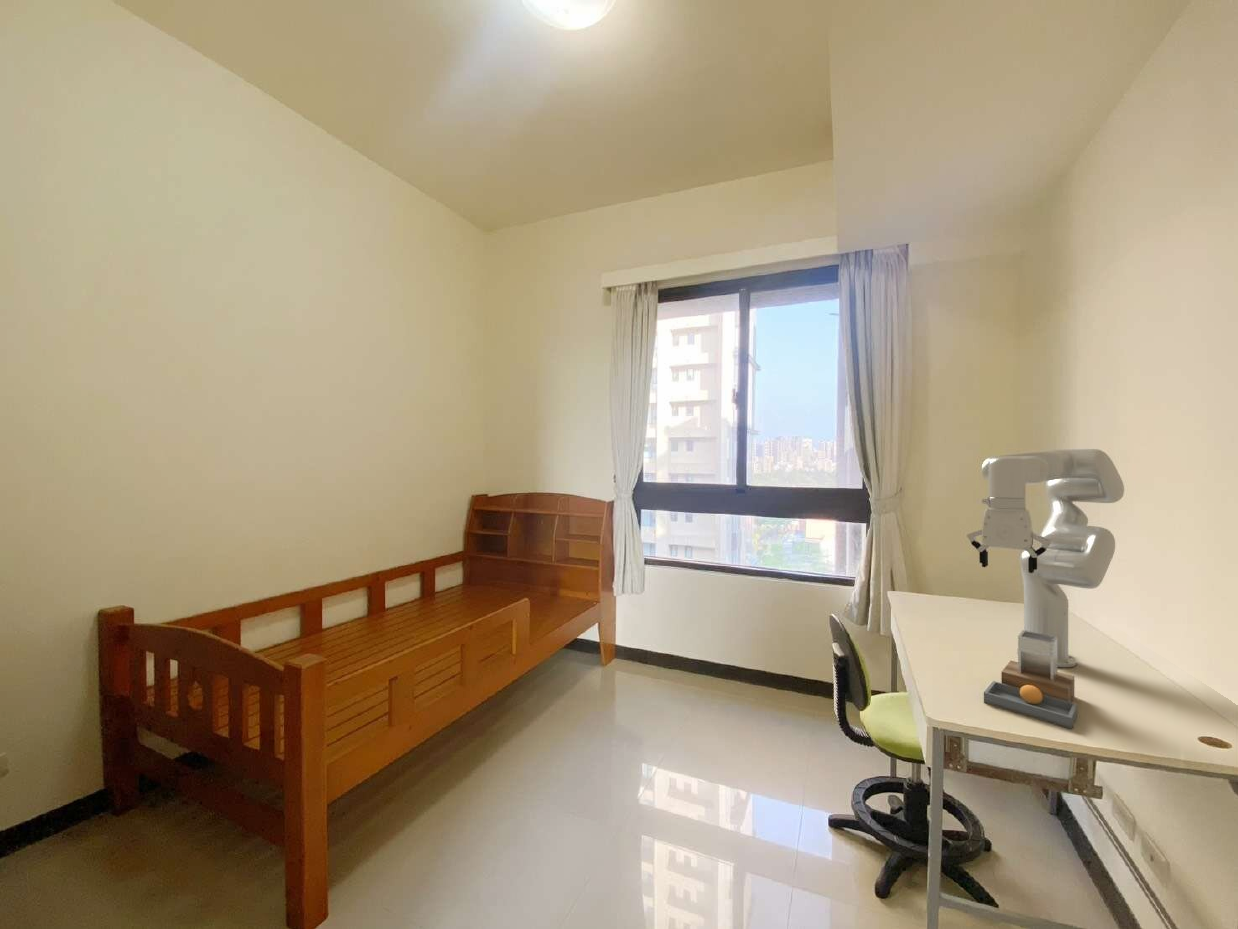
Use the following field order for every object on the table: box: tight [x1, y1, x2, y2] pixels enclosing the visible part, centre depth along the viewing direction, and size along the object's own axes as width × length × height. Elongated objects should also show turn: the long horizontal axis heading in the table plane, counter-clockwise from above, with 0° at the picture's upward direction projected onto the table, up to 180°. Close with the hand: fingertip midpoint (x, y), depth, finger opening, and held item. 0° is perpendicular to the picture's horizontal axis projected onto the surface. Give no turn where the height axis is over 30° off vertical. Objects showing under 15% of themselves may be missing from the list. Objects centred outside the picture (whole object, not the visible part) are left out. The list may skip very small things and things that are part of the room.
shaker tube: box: [1017, 629, 1058, 682], centre depth 116 cm, size 6×6×9 cm
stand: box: [1000, 660, 1075, 703], centre depth 116 cm, size 10×12×5 cm
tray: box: [983, 680, 1078, 730], centre depth 110 cm, size 9×15×2 cm, turn 41°
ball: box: [1020, 685, 1043, 704], centre depth 111 cm, size 4×4×4 cm
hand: (1007, 569), depth 127 cm, fingers open, 9 cm apart
